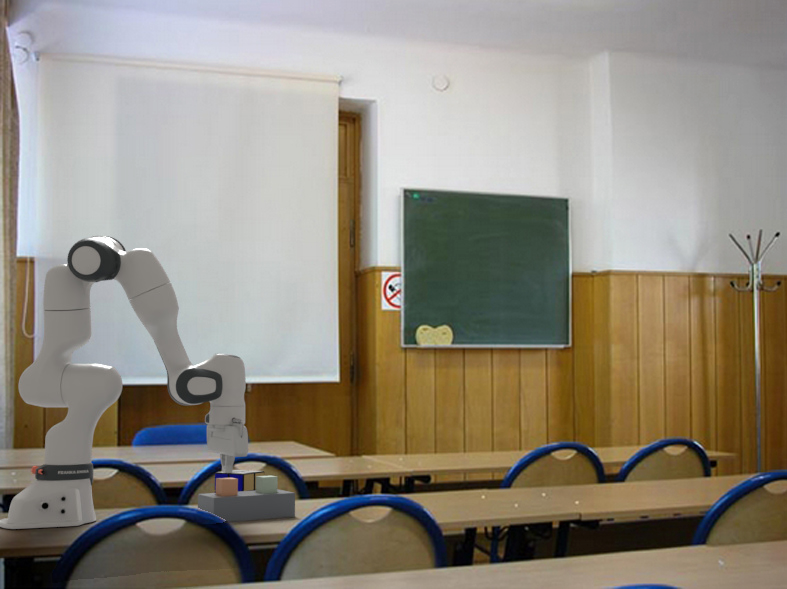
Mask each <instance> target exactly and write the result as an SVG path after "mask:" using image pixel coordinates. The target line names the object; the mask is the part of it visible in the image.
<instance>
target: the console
mask: <svg viewBox="0 0 787 589" xmlns="http://www.w3.org/2000/svg"><path fill="white" fill-rule="evenodd" d="M198 508H200V509H202V510H205V511H208V512H211V513H213V514H215V515H217V516H219V517H221V518H223V519H225V520H226V521H228V522H227V523H230V522H232V523H233V522H243V521H244V522H245V521H256V520H257V521H258V520H269V519H270V520H271V519H281V518H291V517H293V518H294V517H296V492H294V491H293V492H292V491H287V490H284V489H277V493H263V494H261V493H257V492H256V490H254V491H238V495H232V496H218V495H216V493H215V492H211V493H210V492H207V493H198V494H197V509H198Z"/></svg>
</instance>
